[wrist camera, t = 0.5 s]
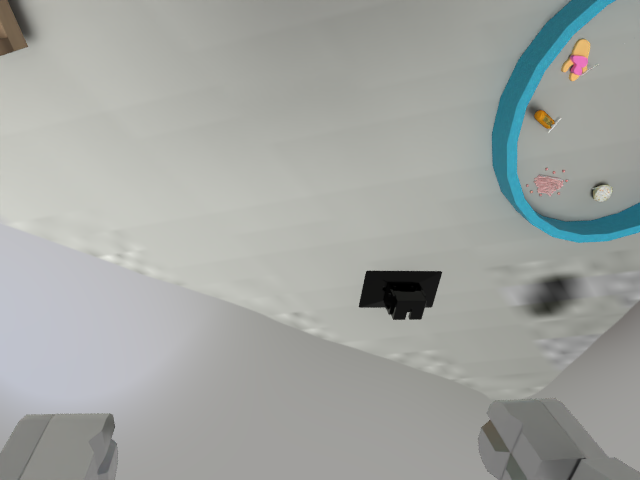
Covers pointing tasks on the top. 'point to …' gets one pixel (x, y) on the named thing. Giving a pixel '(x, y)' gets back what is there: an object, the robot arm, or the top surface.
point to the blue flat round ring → (511, 114)
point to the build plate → (400, 292)
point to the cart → (9, 30)
